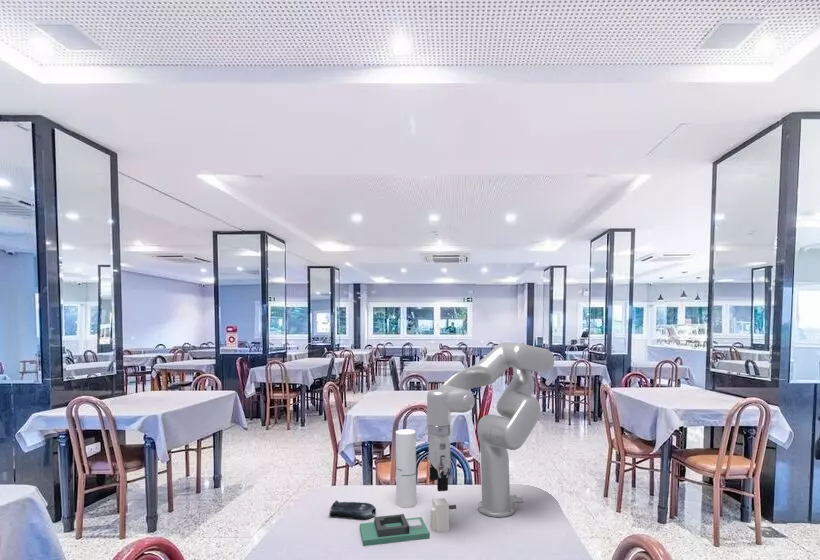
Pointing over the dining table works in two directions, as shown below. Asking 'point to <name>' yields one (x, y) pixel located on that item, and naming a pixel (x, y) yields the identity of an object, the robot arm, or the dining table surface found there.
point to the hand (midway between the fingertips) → (438, 485)
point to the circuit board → (393, 530)
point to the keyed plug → (440, 515)
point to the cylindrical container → (406, 468)
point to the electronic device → (352, 510)
